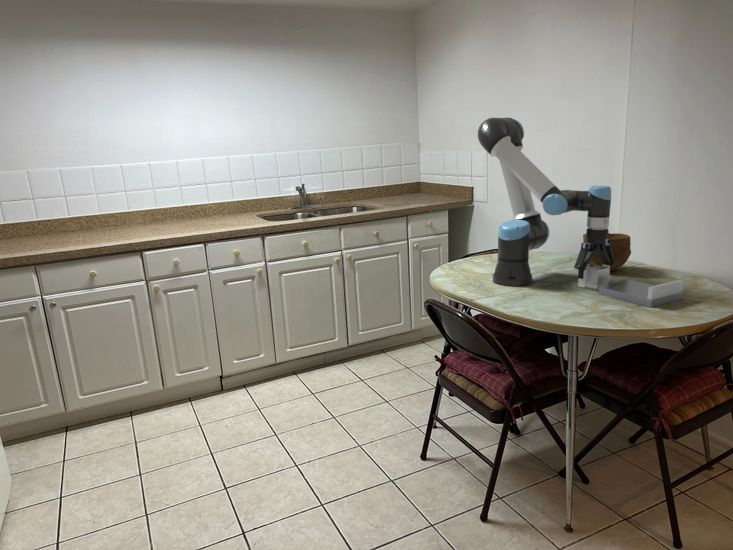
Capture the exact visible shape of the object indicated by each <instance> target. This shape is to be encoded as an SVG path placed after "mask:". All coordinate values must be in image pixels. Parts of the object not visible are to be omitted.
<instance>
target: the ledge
mask: <svg viewBox="0 0 733 550" xmlns="http://www.w3.org/2000/svg"><path fill="white" fill-rule="evenodd" d="M684 283H685V280H684V279H677V280H676V279H675V280H672V281H668V282H665V283H664V282H663V283H661V284H656V285H655V284H650V283H646V282H640V281H636V280H633V279H628V280H627V279H626V280H622V281H619V282H614V283H610V284H609V283H608V285H605V286H600V287H599V288H598V294H599V295H603V296H606V297H611V298H613V299H614V298H615V299H618V300H622V301H626V302H629V303H632V304H637V305H640V306H644V307H649V308H654V307H657V306H660V305H664V304H669V303H672V302H675V301H680V300H682V299H683V292H684V287H685V286H684V285H685V284H684Z"/></svg>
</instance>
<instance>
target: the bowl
mask: <svg viewBox="0 0 733 550" xmlns="http://www.w3.org/2000/svg"><path fill="white" fill-rule="evenodd" d="M582 237H583V242H582V243H588V239H587V238H586V233H584V234H583V235H582ZM607 239H609V240H611V246H612V250H613V254H614V259H615V262H614V264H613V265H610V272H611V271H615V270H618V269H620V268H621V267H623V265H625V264H626V262H627V261H628V260H629V258H630V256H631V255H632V249H631V244H632V243H631V236H630V235H628V234H626V233H619V232H618V233H610V232H608V238H607ZM589 252H590V251H589ZM610 259H611V258H610ZM589 264H593V265H598V266H603V264H604V262H603V260H602V258H601V256H600V254H599V253H596V254H595V255H593V256H592V258H591V260H590V261H589V263H588V265H589Z"/></svg>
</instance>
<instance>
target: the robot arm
mask: <svg viewBox="0 0 733 550" xmlns="http://www.w3.org/2000/svg"><path fill="white" fill-rule="evenodd" d="M524 137H525V130H524V126H523V124H522V123H521V122H520V121H519V120H517V119H516V118H513V117H489V118H487V119H485V120H484V121H482V123H480V125H479V127H478V130H477V140H478V142H479V144H480V146H481V147H483V149H484V150H485V151H486V152H487V153H488V154H489V155H490V156H491V157H496V158H497V159H498V160H499V164H500V168H501V171H502V175H503V179H504V183H505V186H506V191H507V194H508V200H509V202H510V207H511V211H512V213H513V216H512V218H511V220H507V221H503V222H501V223H500V224H499V227H498V232H497V262H496V265H495V269H494V272H493V273H492V282H493V283H494V284H497V285H501V286H507V287H508V286H510V287H520V286H521V287H522V286H527V285H530V284H532V283H533V275H532V271H531V268H530V264H529V258H530V257H529V255H530V251H532V250H535V249H536V250H537V249H539V248H540V247H542V246H543V245H545V244H546V243H547V241H548V240H549V236H550V228H549V225H548V223H546V222H545V221H544V220H543V219H542V215H541V213H540V212H539V211H537V210H536V208H535V205H534V204H535V203H534V200H533V195H534V196H535V197H536V198H537V199H538V201H540V202H541V203H542V208H543V211H544V212H545V213H546V214H547V215H549V216H560V215H562V214H565V213H569V212H574V211H576V212H587V217H586V220H587V221H586V227H587V228H586V233H585V234H586V238H587V239H588V243H584V242H582V243H580V250H579V252H578V255H577V258H576V261H575V264H574V266H573V268H574V269H575V270H577V273H578V274H577V280H578V283H577V286H578V287H580V288H586V272H587V270H585V269H586V267H587V265H589V264H588V263H589V261H590V260H591V258H592V256H593V255H595V254H596V253H599V254H600V256H601V258H602V260H603V262H604V264H603V267H607V268H609V274H610V273H611V271H610V265H613V264H614V262H615V259H614V254H613V250H612V246H611V240H609V239H607V238H608V233H609V231H610V230H609V227H610V215H611V214H610V213H611V205H612V203H611V202H612V188H611V186H609V185H591V186H589V188H588V190H570V189H563V190H562V189H561V190H560V188H558V186H557V185H555V183H553V181H552V180H551V179H549V178H548V176H546V175H545V173H543V172H542V171H541V169H539V168H538V167H537V165H535V164H534V163H533V162H532V161H531V160H530V159H529V158H528V157H527V156H526V155H525V154H524V153H523V152H522V150H523V148H524V144H523V138H524ZM589 251H590V252H589ZM610 258H611V259H610ZM582 266H583V267H582ZM609 282H610V275H609V276H608V283H609Z"/></svg>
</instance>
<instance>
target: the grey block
mask: <svg viewBox="0 0 733 550" xmlns="http://www.w3.org/2000/svg"><path fill="white" fill-rule="evenodd" d="M582 267H583V266H582ZM585 270H587V272H586V286H587V287H590V288H595V289H599V287H600V286H605V285H609V282H608V276H609V277H610V273H609V268H607V267H603V266H598V265H593V264H588V265H587V267H586V269H585ZM586 286H585V287H586Z"/></svg>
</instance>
